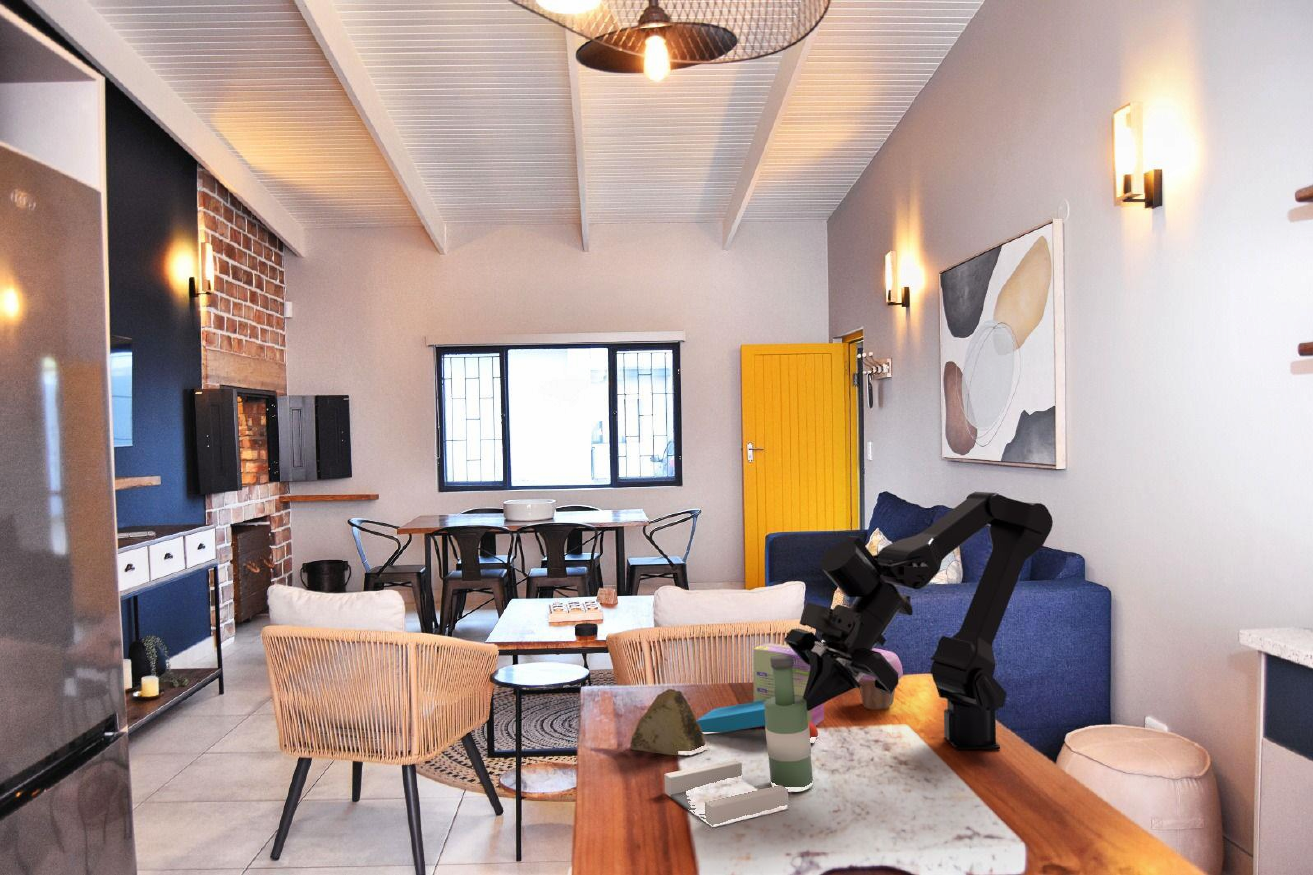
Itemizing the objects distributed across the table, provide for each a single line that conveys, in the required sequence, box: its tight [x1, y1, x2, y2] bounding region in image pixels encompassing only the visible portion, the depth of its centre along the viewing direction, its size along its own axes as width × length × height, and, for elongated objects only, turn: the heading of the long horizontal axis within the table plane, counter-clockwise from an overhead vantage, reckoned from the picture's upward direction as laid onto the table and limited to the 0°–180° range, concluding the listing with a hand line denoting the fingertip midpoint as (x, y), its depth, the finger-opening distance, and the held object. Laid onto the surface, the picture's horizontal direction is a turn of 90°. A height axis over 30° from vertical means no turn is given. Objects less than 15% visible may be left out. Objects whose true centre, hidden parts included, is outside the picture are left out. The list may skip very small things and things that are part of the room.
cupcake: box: [858, 647, 904, 711], centre depth 152 cm, size 9×9×10 cm
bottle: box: [764, 655, 814, 787], centre depth 118 cm, size 6×6×17 cm
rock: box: [630, 688, 707, 756], centre depth 133 cm, size 11×9×10 cm
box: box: [752, 642, 825, 728], centre depth 146 cm, size 10×6×12 cm, turn 58°
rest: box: [664, 758, 789, 826], centre depth 113 cm, size 11×12×2 cm
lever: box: [696, 700, 819, 738], centre depth 138 cm, size 7×7×18 cm
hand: (804, 708), depth 119 cm, fingers closed
